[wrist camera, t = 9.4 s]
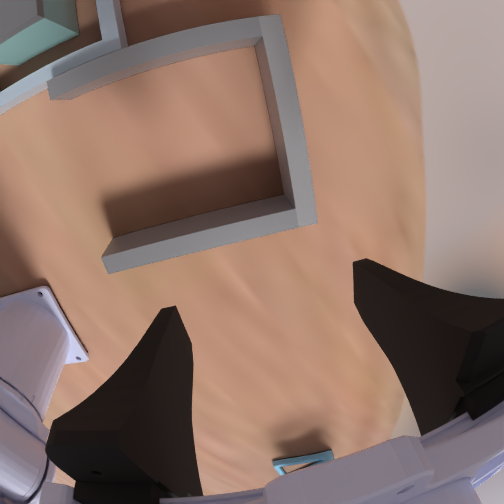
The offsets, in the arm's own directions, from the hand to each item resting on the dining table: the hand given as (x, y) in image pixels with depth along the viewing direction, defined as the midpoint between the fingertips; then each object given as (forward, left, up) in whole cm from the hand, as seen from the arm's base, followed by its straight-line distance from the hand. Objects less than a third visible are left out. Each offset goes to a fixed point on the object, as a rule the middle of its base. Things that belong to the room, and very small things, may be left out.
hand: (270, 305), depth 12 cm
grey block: (-10, +18, -10) cm, 23 cm away
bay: (-3, +6, -10) cm, 12 cm away
